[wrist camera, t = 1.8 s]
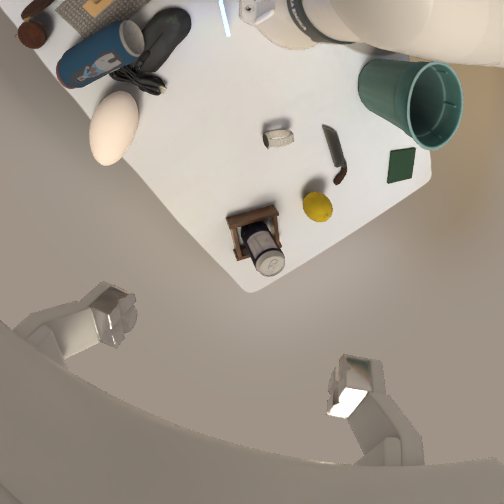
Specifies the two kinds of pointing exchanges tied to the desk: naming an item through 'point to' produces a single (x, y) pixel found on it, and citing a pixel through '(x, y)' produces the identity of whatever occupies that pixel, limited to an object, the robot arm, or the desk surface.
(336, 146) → the knife
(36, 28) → the compass
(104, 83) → the desk surface
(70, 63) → the blue printed can
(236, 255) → the crate
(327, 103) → the desk surface
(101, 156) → the egg
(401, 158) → the mat
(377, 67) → the flower pot
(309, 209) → the lemon
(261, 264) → the beverage can
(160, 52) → the computer mouse
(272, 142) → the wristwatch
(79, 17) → the grey textured pad
